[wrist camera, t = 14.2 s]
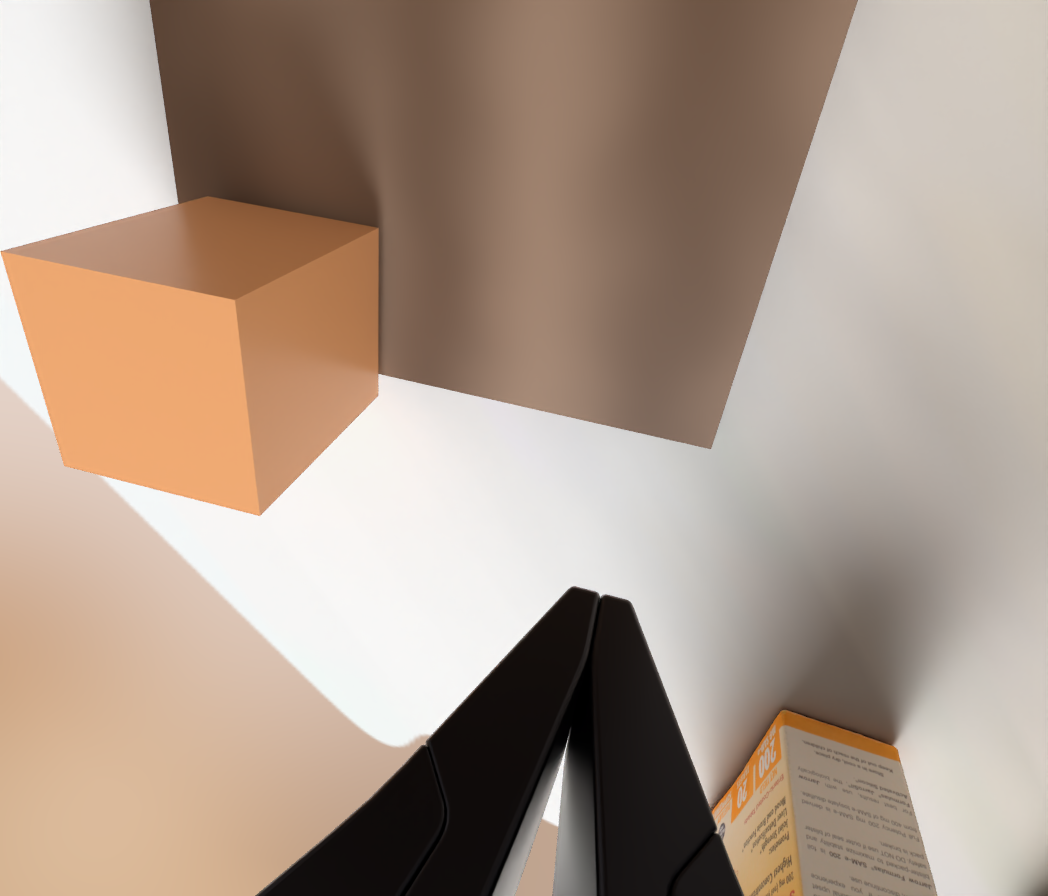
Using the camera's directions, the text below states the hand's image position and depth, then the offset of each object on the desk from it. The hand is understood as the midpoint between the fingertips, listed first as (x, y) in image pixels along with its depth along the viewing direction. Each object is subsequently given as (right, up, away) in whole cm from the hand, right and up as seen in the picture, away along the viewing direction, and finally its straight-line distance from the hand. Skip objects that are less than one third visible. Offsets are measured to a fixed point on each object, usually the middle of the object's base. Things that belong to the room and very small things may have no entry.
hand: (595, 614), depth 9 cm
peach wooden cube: (-8, +7, +11) cm, 15 cm away
